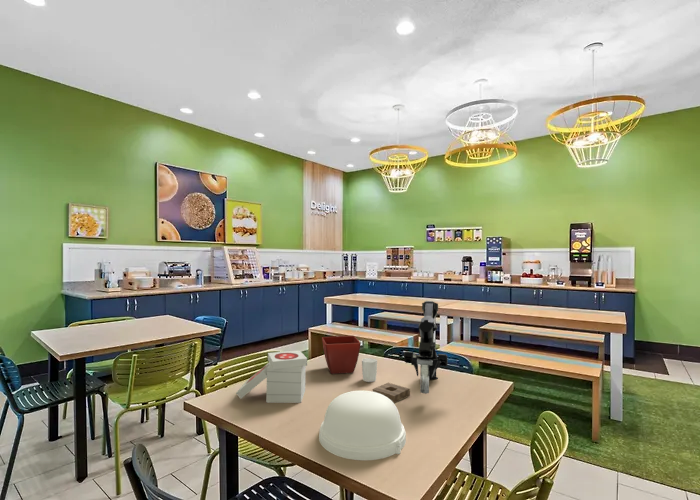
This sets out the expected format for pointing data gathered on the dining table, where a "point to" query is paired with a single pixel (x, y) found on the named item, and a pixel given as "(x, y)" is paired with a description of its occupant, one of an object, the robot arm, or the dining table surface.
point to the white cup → (369, 369)
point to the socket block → (393, 391)
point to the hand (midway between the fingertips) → (424, 376)
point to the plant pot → (341, 353)
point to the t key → (424, 375)
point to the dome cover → (362, 427)
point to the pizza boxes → (280, 377)
